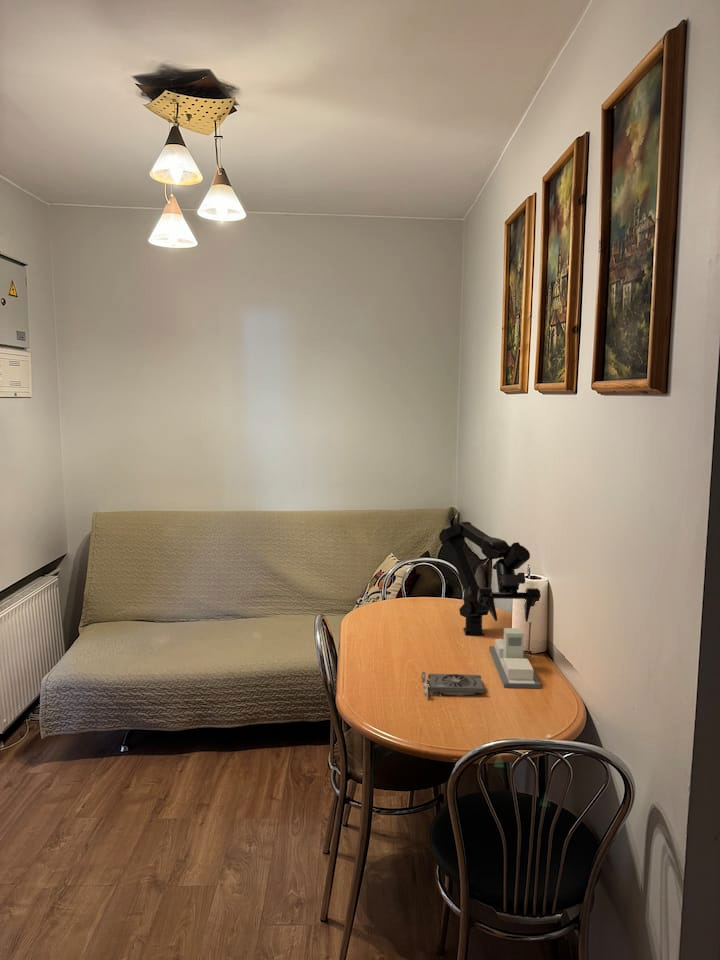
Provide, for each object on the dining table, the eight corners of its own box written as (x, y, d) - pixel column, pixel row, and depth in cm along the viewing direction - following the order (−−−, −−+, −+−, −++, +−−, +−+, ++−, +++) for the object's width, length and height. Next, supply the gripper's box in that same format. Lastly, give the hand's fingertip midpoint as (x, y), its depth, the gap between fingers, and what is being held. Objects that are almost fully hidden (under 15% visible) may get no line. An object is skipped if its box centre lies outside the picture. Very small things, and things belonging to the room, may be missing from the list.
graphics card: (423, 689, 167) (421, 669, 179) (423, 702, 168) (421, 682, 180) (487, 691, 167) (480, 671, 178) (486, 704, 167) (480, 683, 179)
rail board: (489, 649, 203) (489, 636, 202) (520, 650, 202) (520, 637, 202) (504, 687, 175) (504, 672, 174) (540, 688, 174) (540, 673, 174)
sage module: (503, 659, 191) (503, 628, 190) (519, 660, 190) (520, 628, 189) (505, 666, 186) (506, 633, 185) (523, 666, 186) (523, 633, 185)
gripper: (479, 562, 194) (483, 608, 185) (540, 563, 193) (547, 609, 183) (475, 580, 203) (479, 625, 193) (534, 581, 202) (540, 626, 192)
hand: (511, 621), depth 190 cm, fingers open, 9 cm apart
